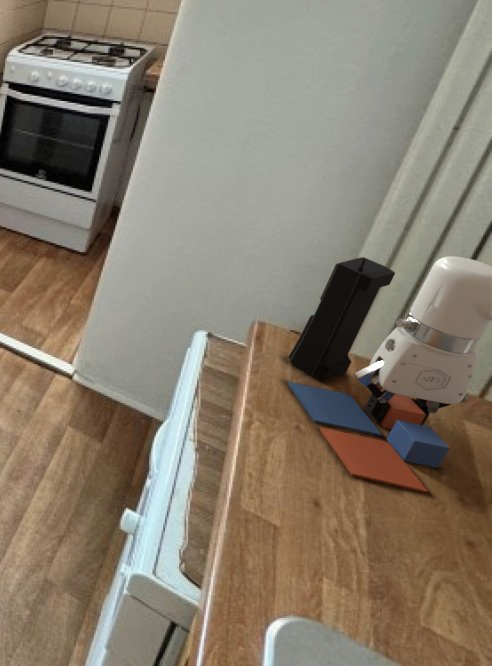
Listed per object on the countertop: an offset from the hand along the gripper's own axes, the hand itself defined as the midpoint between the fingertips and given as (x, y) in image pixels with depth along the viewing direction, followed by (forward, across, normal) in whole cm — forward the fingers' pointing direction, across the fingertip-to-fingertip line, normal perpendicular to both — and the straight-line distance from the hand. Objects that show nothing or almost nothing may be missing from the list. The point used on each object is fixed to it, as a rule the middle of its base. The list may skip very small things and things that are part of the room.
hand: (391, 419), depth 100 cm
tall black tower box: (+1, -5, +12) cm, 13 cm away
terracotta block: (0, 0, 0) cm, 0 cm away
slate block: (0, -1, -7) cm, 7 cm away
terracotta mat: (0, -8, -10) cm, 13 cm away
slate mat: (0, -8, 0) cm, 8 cm away
